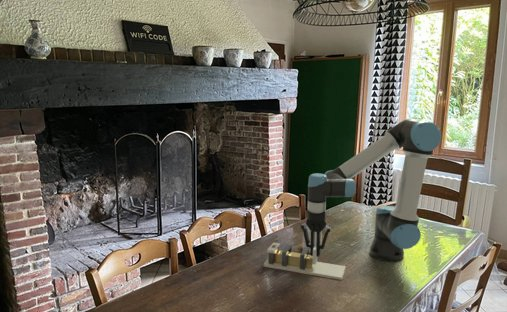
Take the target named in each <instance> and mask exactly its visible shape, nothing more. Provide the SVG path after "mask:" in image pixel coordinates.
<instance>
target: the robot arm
mask: <svg viewBox="0 0 507 312" xmlns="http://www.w3.org/2000/svg"><path fill="white" fill-rule="evenodd" d="M441 141H442V132H441V129H440V128H439V126H438V125H437V124H435V122H432V121H430V120H426V119H425V120H423V119H417V118H413V117H412V118H410V117H409V118H407V119H404V120H401V121H400V122H398V123H397V124H394V126H392V127H391V128H389V129H388V130H387V131H385V132H384V135H383V136H382V137H380V138H378V140H376V141H374V142H373V143H371V144H370V145H368V146H367V147H366V148H365V149H362V150H361V151H360V152H358V153H357V154H355V155H354V156H352V157H351V158H350V159H348V160H347V161H345V162H343V163H342V164H341V165H340V166H337V167H336V168H335V169H331V170H327V171H326V172H324V173H318V172H316V173H312V174H310V175H309V176H308V182H307V183H308V184H307V216H306V218H307V220H306V222H304V223H302V224H301V225H300V228H301V230H302V234H303V233H304V238H305V242H306V246H307V247H309V248H310V249H311V250H310V253H309V255H311V256H313V263H312V264H316V263H317V262H318V257H319V256H320V255H321V250H323V249H324V248H325V245H326V242H327V239H328V236H329V233H330V232H331V230H332V227H331V226H328V225H327V222H326V209H327V208H326V207H327V204H326V203H327V198H350V197H353V196H355V194H356V192H357V185H356V181H355V179H353V178H354V177H356V176H358V175H359V174H360V173H362V172H363V171H365V170H367V169H368V168H369V167H370V166H372V165H374V164H375V163H377V162H378V161H380V160H381V159H382V158H384V157H386V156H387V155H388V154H390V153H392V152H393V151H394V150H400V149H402V151H403V153H404V154H405V155H404V161H403V164H402V165H403V167H402V172H401V176H400V180H399V181H400V182H399V186H398V191H397V196H396V202H395V206H393V205H391V206H390V205H389V206H388V205H384V206H383V205H382V206H379V207H377V208H376V211H375V221H374V222H375V224H374V226H375V227H374V237H373V240H372V242H371V245H370V248H369V253H370V255H371V256H372V257H374V258H375V259H378V260H381V261H386V262H397V261H401V260H403V259H404V258H405V257H404V256H405V252H404V250H407V249H408V250H409V249H411V248H413V247H414V246H416V245H418V243H419V242H420V240H421V237H422V234H421V231H420V228H419V227H418V226H419V220H420V217H419V216H418V215H417V210H418V206H419V203H420V197H421V191H422V187H423V182H424V177H425V171H426V168H427V162H428V159H429V158H430V157H432V156H433V153H434V150H436V149H437V147H439V145H441V144H440V143H441ZM307 226H308V228H309V229H310V230H311V243H310V240H309V236H308V231H307ZM323 230H324V231H325V232H324V235H323V238H322V239H321V231H322V232H323ZM315 232H317V243H316V247H314V246H315V245H314V240H315ZM320 239H321V245H320ZM320 249H321V250H320Z"/></svg>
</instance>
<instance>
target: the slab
mask: <svg viewBox="0 0 507 312" xmlns="http://www.w3.org/2000/svg"><path fill="white" fill-rule="evenodd" d="M263 267H264V268H271V269H276V270H281V271H289V272H293V273H300V274H305V275H311V276H315V277H316V276H317V277H323V278H328V279H334V280H339V281H342V280H343V278H344V274H345V272H346V268H347V267H346V266H345V265H340V264H333V263H328V262H327V263H326V262H321V261H317V263H316V264H314V266H313V268H306V267H305V270H302V269H300V266H294V265H288V264H287V266H286V267H285V266H282V263H276V262H274V264H269V261H268V258H267V259H266V261H265V262H264V263H263Z"/></svg>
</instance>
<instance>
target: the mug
mask: <svg viewBox="0 0 507 312" xmlns="http://www.w3.org/2000/svg"><path fill="white" fill-rule="evenodd" d="M307 231H308V236H309V240H310V243H311V230H310V229H309V228H308V226H307ZM322 232H323V230H322V231H321V239H320V245H322V240H323V238H322V236H323V235H322ZM316 243H317V232H315V240H314V245H315V246H314V247H316ZM305 247H307V246H306V242H305V238H304V233H303V232H302V250H303V249H304V248H305ZM307 248H309V247H307ZM310 250H311V249H310V248H309V254H310ZM321 250H322V249H320V251H321Z"/></svg>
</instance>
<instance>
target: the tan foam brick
mask: <svg viewBox="0 0 507 312" xmlns="http://www.w3.org/2000/svg"><path fill="white" fill-rule="evenodd" d="M283 250H284V249H283ZM283 250H281V249H279V250H277V251H276V252H275V253H274V262H276V263H282V251H283ZM301 253H302V252H295V251H292V252H288V254H287V264H288V265H294V266H300V254H301ZM267 259H268V261H269V252H267ZM312 263H313V256H311V255H310V254H309V255H308V254H307V255H306V257H305V267H306V268H313V266H314V264H312Z"/></svg>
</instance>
